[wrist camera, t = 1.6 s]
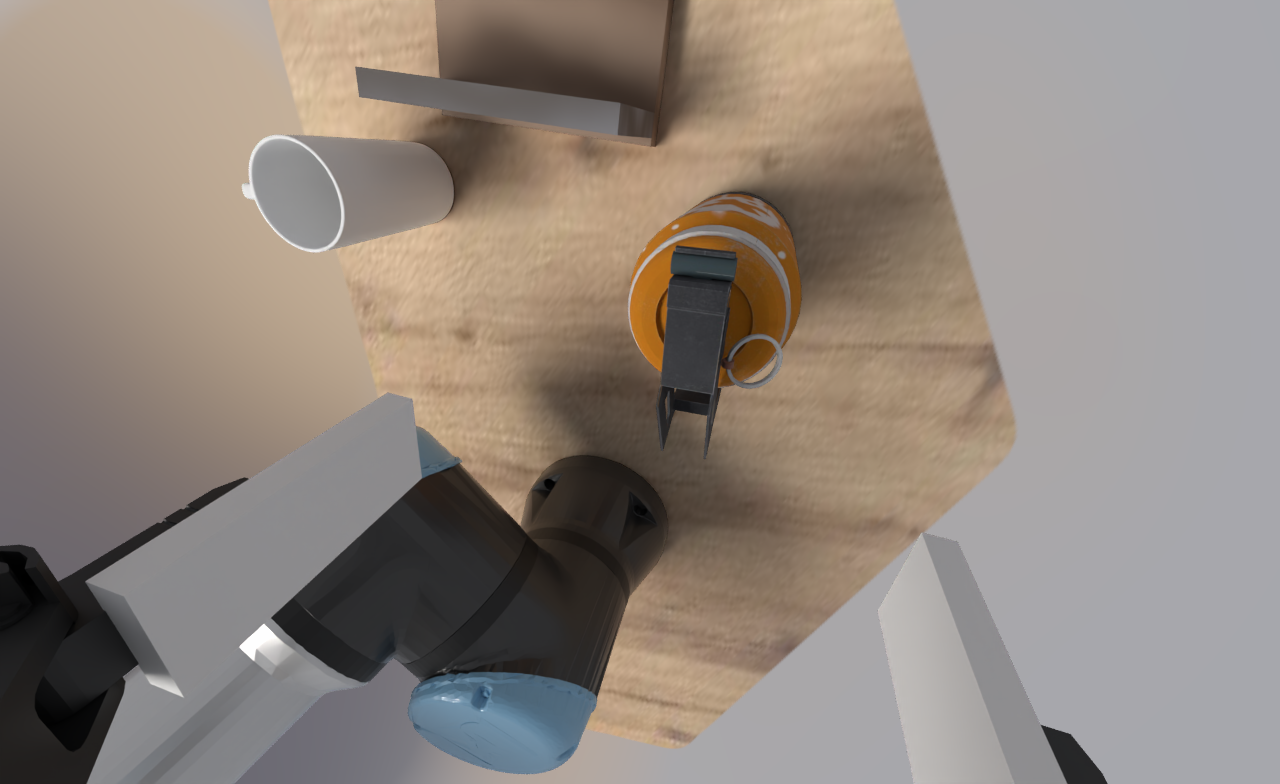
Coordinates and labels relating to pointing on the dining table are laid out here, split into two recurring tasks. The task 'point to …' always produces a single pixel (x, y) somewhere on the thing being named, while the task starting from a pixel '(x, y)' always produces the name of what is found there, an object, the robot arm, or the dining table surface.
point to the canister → (714, 302)
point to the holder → (544, 66)
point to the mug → (346, 188)
